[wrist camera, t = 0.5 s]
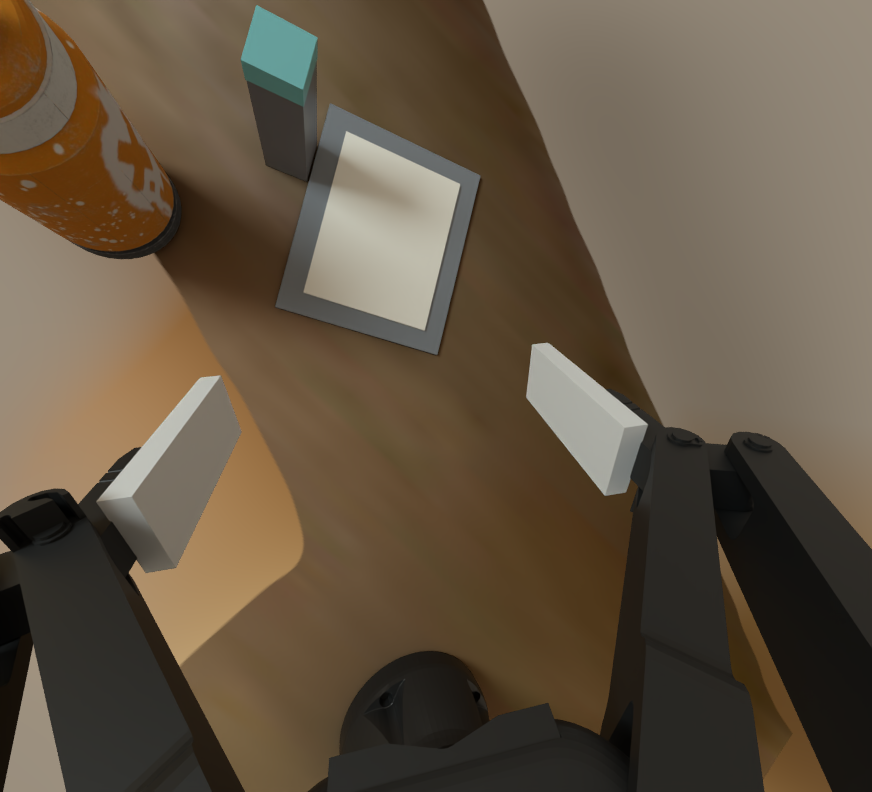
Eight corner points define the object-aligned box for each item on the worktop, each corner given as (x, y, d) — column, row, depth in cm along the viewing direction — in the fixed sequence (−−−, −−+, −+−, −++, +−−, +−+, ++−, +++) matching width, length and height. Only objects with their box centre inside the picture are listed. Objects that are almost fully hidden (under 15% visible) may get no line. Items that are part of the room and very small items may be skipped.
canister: (188, 265, 31) (-18, 66, 12) (19, 257, 27) (-650, -41, 8) (180, 158, 31) (-44, -222, 12) (8, 136, 27) (-710, -452, 8)
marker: (307, 182, 34) (302, 89, 23) (265, 165, 33) (240, 59, 22) (317, 145, 34) (317, 37, 24) (275, 127, 33) (256, 5, 22)
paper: (436, 355, 38) (438, 354, 37) (275, 307, 33) (274, 306, 33) (479, 177, 39) (481, 174, 39) (330, 105, 34) (330, 101, 34)
